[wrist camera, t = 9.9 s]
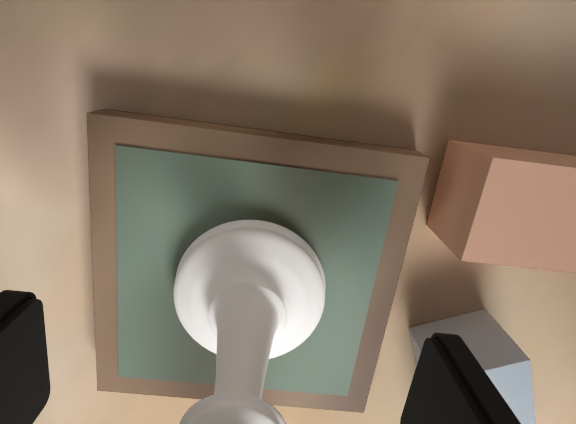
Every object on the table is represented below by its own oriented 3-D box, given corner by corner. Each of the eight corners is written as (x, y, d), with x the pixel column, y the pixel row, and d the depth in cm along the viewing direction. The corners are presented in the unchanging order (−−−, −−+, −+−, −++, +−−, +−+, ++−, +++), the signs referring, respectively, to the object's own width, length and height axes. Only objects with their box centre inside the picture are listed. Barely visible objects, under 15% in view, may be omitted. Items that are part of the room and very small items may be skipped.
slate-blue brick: (407, 325, 15) (436, 382, 12) (482, 306, 15) (530, 359, 12) (430, 433, 17) (460, 503, 14) (497, 417, 17) (540, 485, 14)
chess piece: (185, 205, 12) (-173, 721, 2) (341, 235, 12) (552, 765, 3) (168, 337, 13) (-89, 958, 4) (306, 359, 14) (368, 961, 4)
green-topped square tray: (416, 150, 13) (430, 158, 12) (357, 388, 16) (364, 414, 15) (104, 109, 12) (85, 113, 11) (110, 367, 15) (96, 391, 14)
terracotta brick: (616, 160, 13) (707, 184, 10) (582, 240, 14) (657, 281, 11) (446, 138, 13) (493, 157, 10) (424, 222, 14) (461, 261, 11)
